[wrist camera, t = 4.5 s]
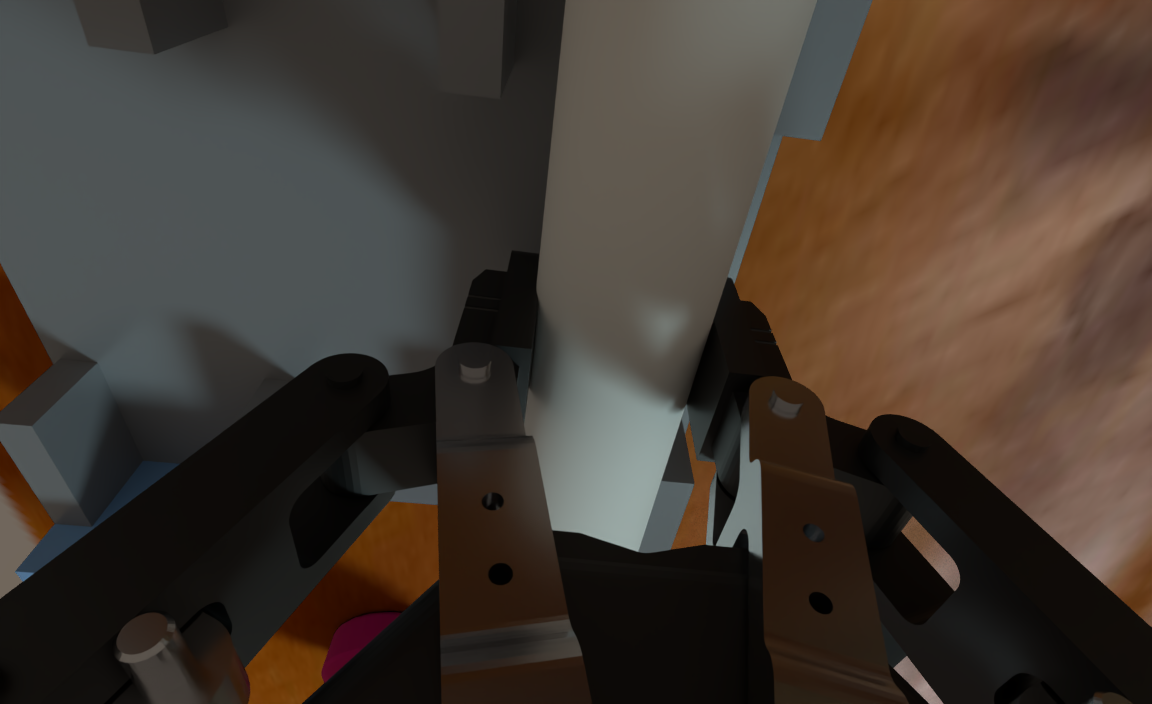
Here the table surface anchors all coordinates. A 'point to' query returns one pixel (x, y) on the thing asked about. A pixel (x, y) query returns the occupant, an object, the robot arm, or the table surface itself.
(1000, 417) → the table surface
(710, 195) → the white rounded capsule
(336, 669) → the pepper mill
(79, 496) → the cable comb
